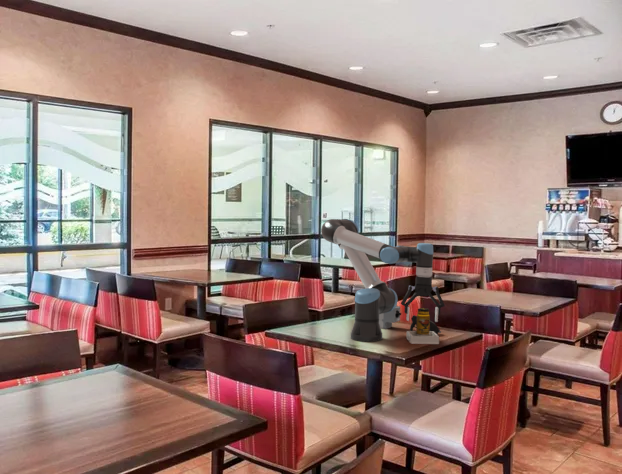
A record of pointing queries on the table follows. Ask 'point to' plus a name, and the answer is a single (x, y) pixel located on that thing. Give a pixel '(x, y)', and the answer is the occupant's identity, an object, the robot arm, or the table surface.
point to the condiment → (423, 322)
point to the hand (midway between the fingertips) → (421, 320)
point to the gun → (432, 325)
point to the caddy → (422, 338)
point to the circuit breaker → (389, 318)
